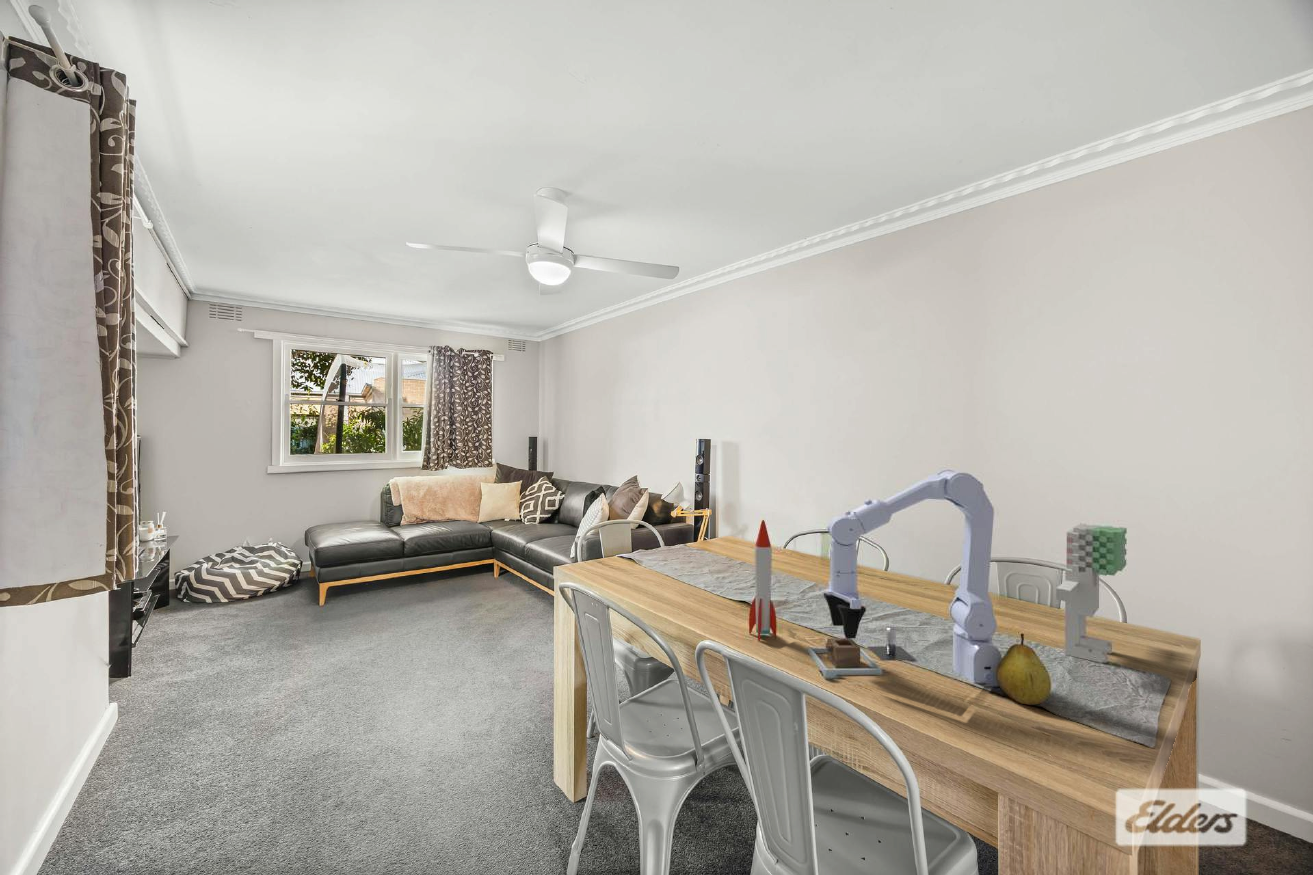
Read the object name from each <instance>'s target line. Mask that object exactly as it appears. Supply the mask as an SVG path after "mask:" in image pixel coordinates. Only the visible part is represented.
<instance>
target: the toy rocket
mask: <svg viewBox="0 0 1313 875" xmlns="http://www.w3.org/2000/svg"><path fill="white" fill-rule="evenodd" d="M754 545H755V546H754V580H755V581H754V587H755V588H754V590H755V591H754V592H755V596H754V598H753V600H752V602H751V605H750V608H749V613H748V633H749V635H750V634H751V633H752V632H753V629H754V627H755V632H756V633H757V641H758V642H760V641H761V635H768V634H770V633H771V632H772V634H773V637H774V639H777V629H778V626H777V614H776V610H775V606H774V604H773V601H772V600H771V598H772V595H771V594H772V560H773V559H772V557H773V556H772V555H773V554H772V553H773V551H772V550H773V549H772V545H771V540H770V538H769V533H768V529H767V525H766V522H765V520H764V519H762V520H761V523H760V526H759V530H758V534H757V539H756V542H755V544H754Z"/></svg>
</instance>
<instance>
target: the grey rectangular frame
mask: <svg viewBox="0 0 1313 875" xmlns="http://www.w3.org/2000/svg"><path fill="white" fill-rule="evenodd" d="M807 649H808V650H807V651H808V654H809V655H810V657H811V658H812V659H813V660H814V662H815V663H816V665H817V666H818V667H819V668H820V669H818V672H819V673H820V674H821V675H822V677H823V679H824V680H847V678H846V677H842V676H846V675H847V676H853V675H855V676H861V675H862V676H863V675H874V676H875V675H883V668H882V667H880V666H879V664H878V663H877V662H876V661H875V660H874V659H873V658H871V656H870V655H868V653H867V652H865V651H864V650H863V649H862V648H861V647H860V657H861V658H863V659H864V660H865V661H866V662H867V663H868V665H870V667H871V668H827V666H826V665H825V664H824V662H823V661H822V660H821V659H820V657H819V656H818V655H817V654H827V650H826V646H824V647H808V648H807Z"/></svg>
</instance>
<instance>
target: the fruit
mask: <svg viewBox="0 0 1313 875" xmlns="http://www.w3.org/2000/svg"><path fill="white" fill-rule="evenodd" d="M1024 638H1025V634H1024V633H1020V639H1021V641H1020V642H1021V643H1018V644H1017V643H1016V644H1015V643H1014V644H1013V645H1011V646H1010V647H1009V648H1008V650H1007V651H1006V652H1005V654H1004V655H1003V656H1002V659H1001V661H1000V662H999V665H998V667H997V671H996V677H997V681H998V683H999V686H998V687H1000V689H1001V690H1002V692H1003V693H1004V694H1006V696H1007V697H1008V698H1010V699H1012V700H1013V701H1015V702H1016V703H1018V704H1022V705H1030V706H1031V705H1032V706H1034V705H1035V706H1036V705H1039V704H1041V703H1044V702H1045V701H1046V700H1047V699H1048V697H1049V696H1050V694H1051V692H1052V682H1051V677H1050V673H1049V671H1048V670H1047V668H1046V666H1045V665H1044V663H1043V661H1042V660H1041V659H1040V657H1039V656H1038V654H1037V653H1036V651H1035V650H1033V648H1032V647H1030V646H1028V645H1026V644H1024V642H1025V639H1024Z"/></svg>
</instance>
